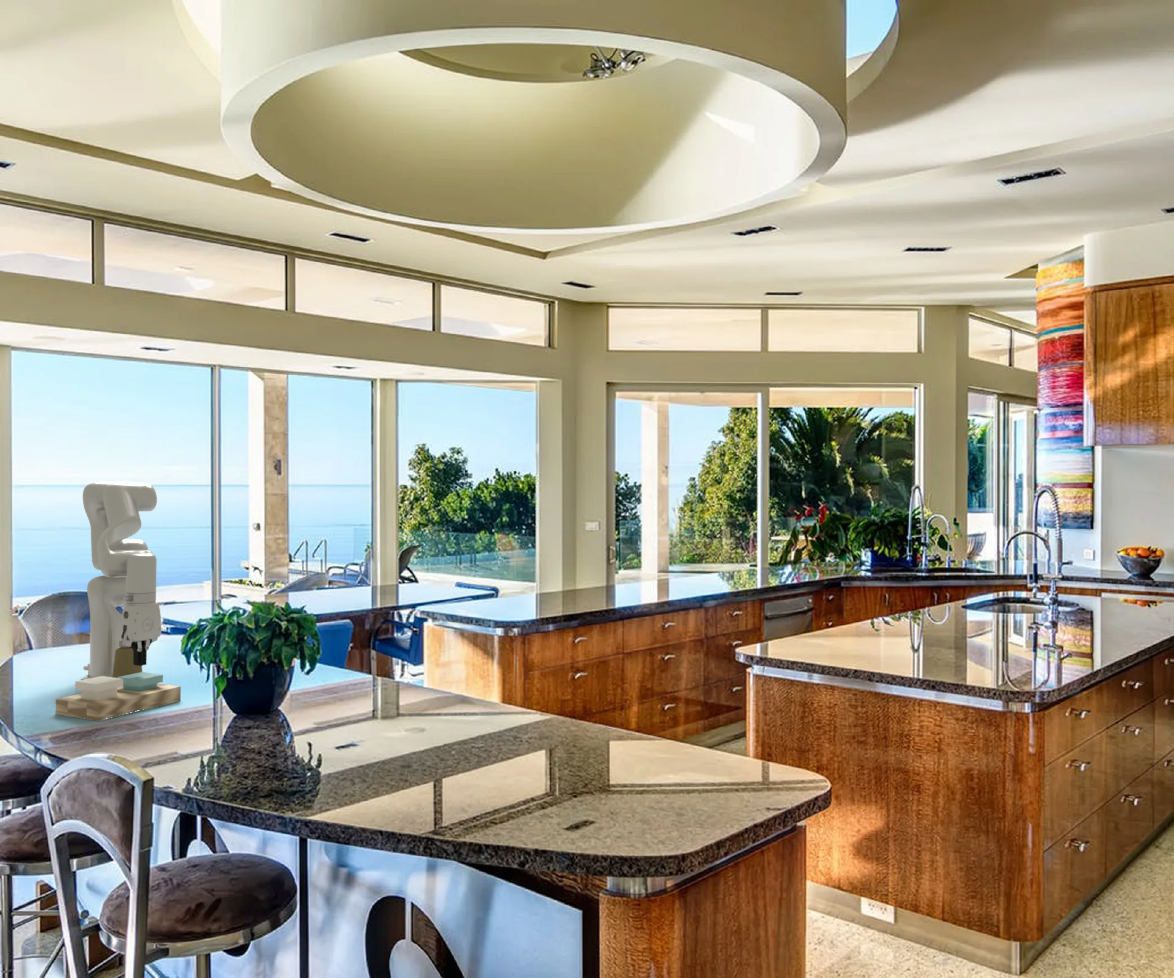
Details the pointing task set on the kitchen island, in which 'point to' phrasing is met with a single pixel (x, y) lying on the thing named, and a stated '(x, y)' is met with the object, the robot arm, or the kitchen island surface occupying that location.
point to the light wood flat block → (117, 702)
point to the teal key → (141, 681)
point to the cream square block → (99, 688)
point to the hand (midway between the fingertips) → (139, 664)
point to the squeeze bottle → (124, 662)
